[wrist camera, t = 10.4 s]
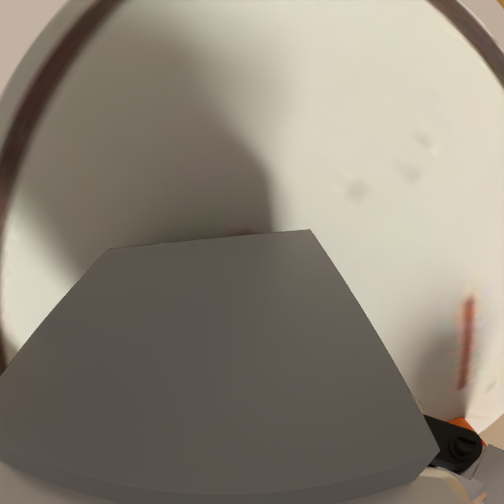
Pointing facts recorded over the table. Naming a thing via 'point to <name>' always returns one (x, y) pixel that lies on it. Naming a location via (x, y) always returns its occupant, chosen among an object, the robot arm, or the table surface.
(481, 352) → the table surface
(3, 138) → the table surface
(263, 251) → the grey matte cube
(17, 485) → the robot arm
